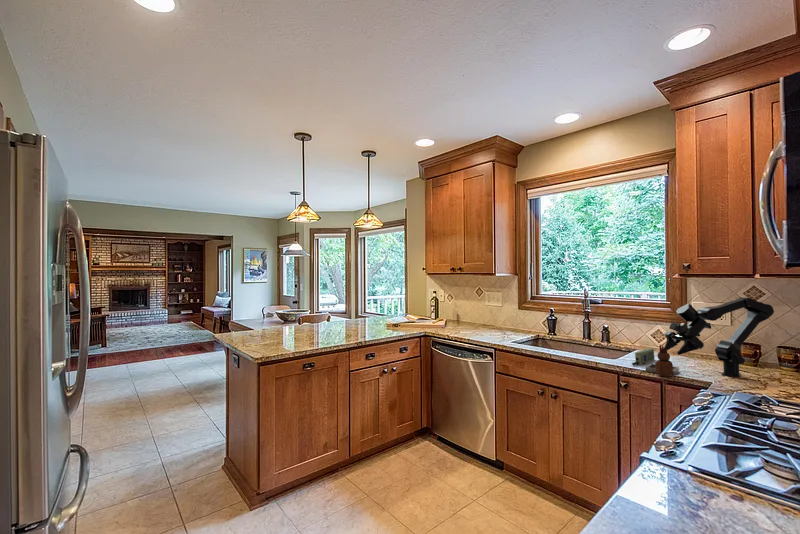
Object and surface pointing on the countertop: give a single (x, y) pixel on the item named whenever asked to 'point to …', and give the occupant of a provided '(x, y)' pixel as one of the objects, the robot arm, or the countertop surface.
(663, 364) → the wooden figurine
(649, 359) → the handheld radio
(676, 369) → the grey shallow tray
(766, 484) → the countertop surface
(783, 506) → the countertop surface
